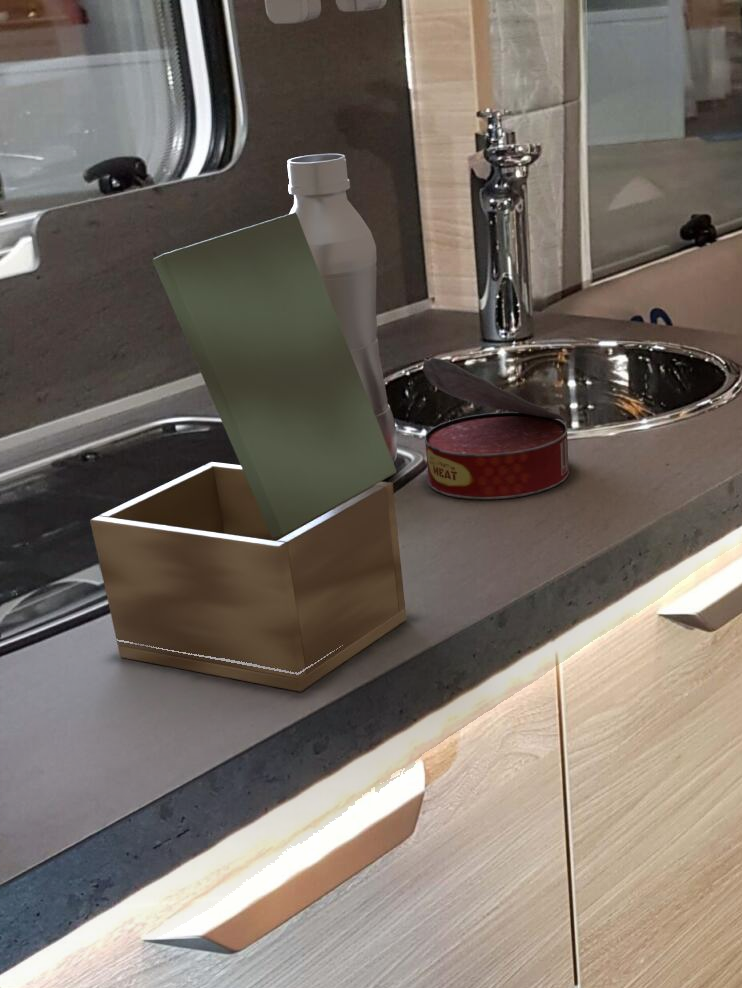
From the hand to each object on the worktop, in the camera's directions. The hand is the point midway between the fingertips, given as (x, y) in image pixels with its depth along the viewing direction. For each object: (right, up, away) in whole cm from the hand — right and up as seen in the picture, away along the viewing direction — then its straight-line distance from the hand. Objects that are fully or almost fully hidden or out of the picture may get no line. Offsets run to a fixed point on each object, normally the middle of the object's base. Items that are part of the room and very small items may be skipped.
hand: (329, 16), depth 65 cm
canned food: (+7, -5, +42) cm, 43 cm away
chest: (-6, -21, +21) cm, 30 cm away
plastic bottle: (-3, -4, +44) cm, 44 cm away
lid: (-4, -11, +11) cm, 16 cm away
